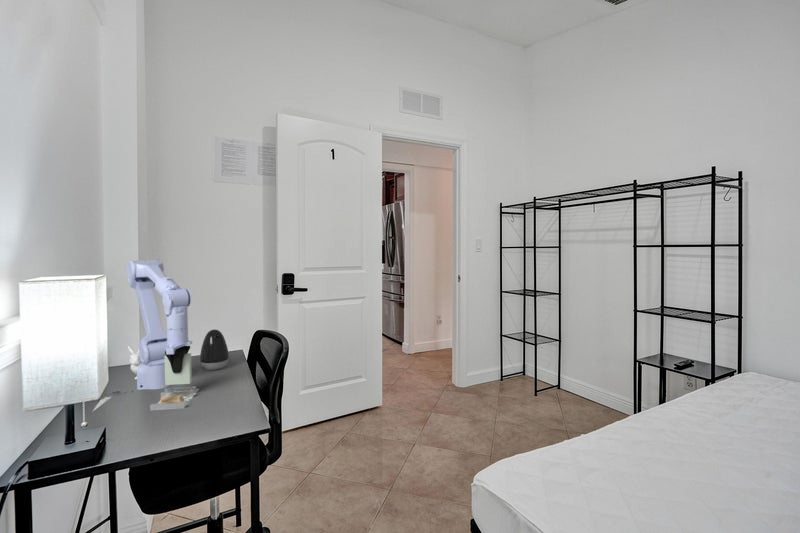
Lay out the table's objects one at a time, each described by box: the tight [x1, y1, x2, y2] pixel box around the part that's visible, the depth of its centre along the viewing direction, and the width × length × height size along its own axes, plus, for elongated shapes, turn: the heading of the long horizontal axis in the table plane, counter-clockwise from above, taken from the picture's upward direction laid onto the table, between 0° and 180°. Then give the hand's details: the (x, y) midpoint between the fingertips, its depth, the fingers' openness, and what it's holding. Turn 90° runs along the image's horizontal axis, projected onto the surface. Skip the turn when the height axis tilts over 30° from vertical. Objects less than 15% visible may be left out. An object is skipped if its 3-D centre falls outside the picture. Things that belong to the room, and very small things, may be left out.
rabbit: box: [127, 345, 143, 380], centre depth 149 cm, size 12×9×12 cm
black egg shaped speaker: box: [199, 328, 230, 371], centre depth 159 cm, size 10×10×15 cm
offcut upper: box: [160, 395, 182, 403], centre depth 121 cm, size 5×2×1 cm, turn 102°
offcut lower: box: [157, 398, 184, 404], centre depth 121 cm, size 6×3×1 cm, turn 102°
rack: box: [149, 385, 200, 411], centre depth 126 cm, size 9×16×3 cm, turn 12°
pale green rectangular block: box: [164, 352, 193, 386], centre depth 128 cm, size 7×2×9 cm, turn 102°
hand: (178, 371), depth 128 cm, fingers closed on pale green rectangular block, 2 cm apart
